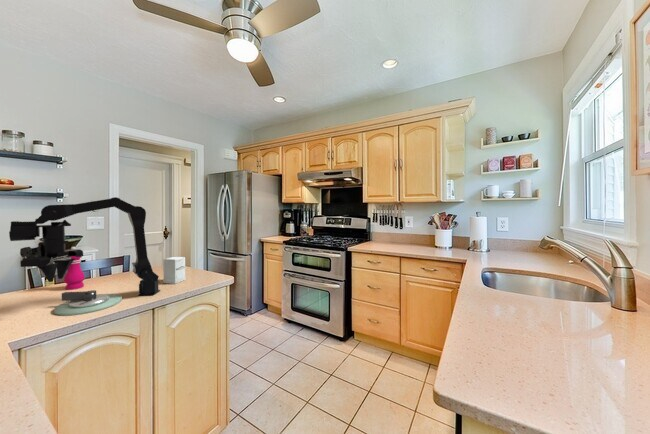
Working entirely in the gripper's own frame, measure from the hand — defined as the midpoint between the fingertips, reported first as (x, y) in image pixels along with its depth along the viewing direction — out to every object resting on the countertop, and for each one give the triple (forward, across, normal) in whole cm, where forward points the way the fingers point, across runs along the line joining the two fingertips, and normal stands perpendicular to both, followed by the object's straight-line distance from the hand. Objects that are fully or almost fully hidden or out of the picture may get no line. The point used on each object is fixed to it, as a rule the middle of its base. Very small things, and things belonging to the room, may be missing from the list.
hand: (55, 280), depth 96 cm
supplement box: (+12, -36, +26) cm, 46 cm away
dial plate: (+12, -6, +7) cm, 15 cm away
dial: (+11, -6, +5) cm, 13 cm away
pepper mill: (+12, -30, -17) cm, 37 cm away
